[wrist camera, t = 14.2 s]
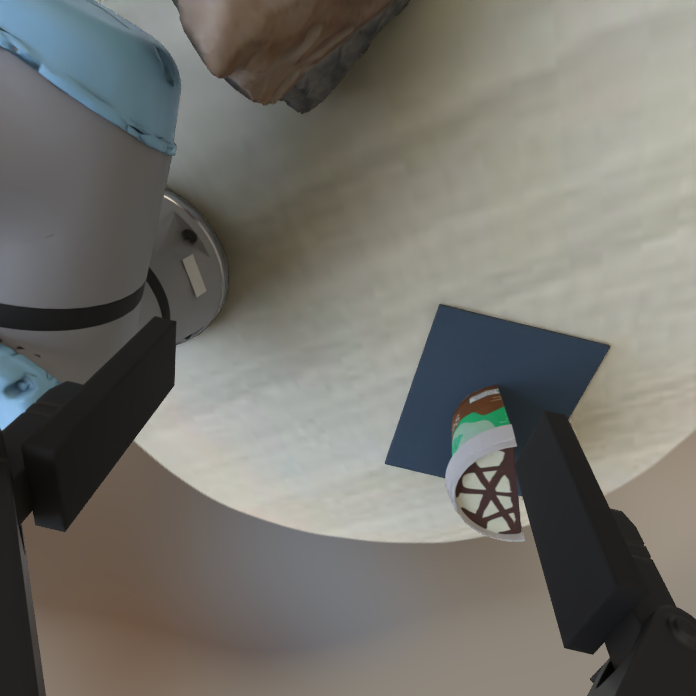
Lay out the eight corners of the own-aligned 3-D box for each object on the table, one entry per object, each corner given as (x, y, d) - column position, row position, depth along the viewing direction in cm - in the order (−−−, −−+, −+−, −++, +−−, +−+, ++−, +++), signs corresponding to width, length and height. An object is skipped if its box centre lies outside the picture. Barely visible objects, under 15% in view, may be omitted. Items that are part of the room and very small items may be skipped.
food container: (431, 380, 47) (437, 448, 39) (496, 371, 46) (516, 440, 37) (448, 472, 53) (456, 550, 44) (505, 467, 52) (525, 545, 43)
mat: (385, 461, 54) (384, 464, 53) (439, 303, 44) (439, 305, 43) (522, 494, 54) (523, 496, 54) (608, 344, 44) (610, 347, 44)
